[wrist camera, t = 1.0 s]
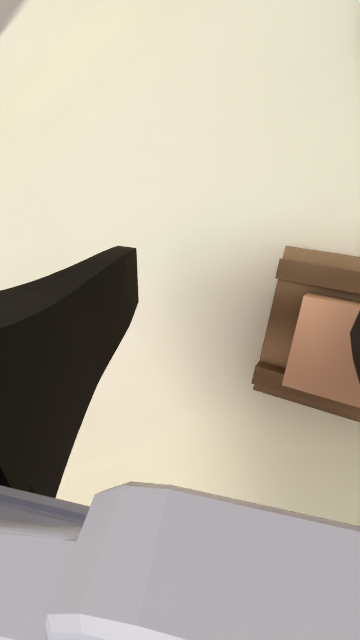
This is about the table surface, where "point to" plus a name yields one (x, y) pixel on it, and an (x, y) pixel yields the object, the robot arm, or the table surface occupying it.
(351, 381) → the block
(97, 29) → the table surface
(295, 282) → the chute
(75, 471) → the table surface
